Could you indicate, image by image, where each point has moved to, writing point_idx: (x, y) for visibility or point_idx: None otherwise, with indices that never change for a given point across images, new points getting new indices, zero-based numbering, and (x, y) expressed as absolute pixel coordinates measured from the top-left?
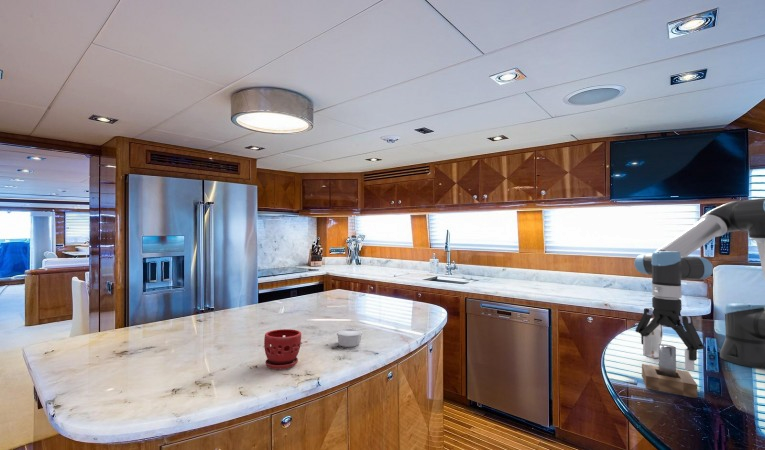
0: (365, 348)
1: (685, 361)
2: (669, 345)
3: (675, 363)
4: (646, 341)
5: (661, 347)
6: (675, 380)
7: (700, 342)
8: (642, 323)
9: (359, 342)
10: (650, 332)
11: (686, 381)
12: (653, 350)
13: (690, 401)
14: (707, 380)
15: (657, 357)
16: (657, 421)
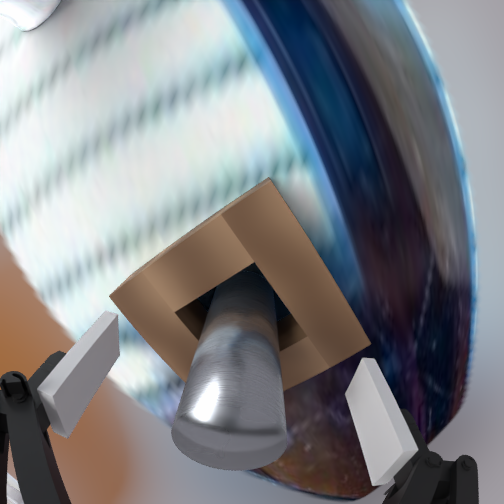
0: None
1: (358, 427)
2: (222, 416)
3: (280, 362)
4: (80, 406)
5: (220, 463)
6: (303, 374)
7: (469, 497)
8: (4, 498)
9: (17, 492)
10: (41, 433)
11: (333, 347)
12: (29, 5)
13: (349, 359)
14: (282, 44)
15: (55, 5)
16: (336, 479)
